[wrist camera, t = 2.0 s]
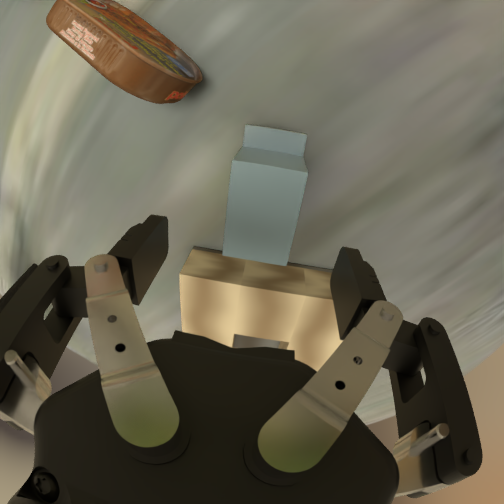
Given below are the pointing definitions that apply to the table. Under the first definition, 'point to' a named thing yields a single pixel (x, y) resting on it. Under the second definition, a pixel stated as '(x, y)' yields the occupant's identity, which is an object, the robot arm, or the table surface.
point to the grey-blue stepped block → (265, 195)
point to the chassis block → (259, 305)
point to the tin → (125, 49)
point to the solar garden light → (16, 287)
